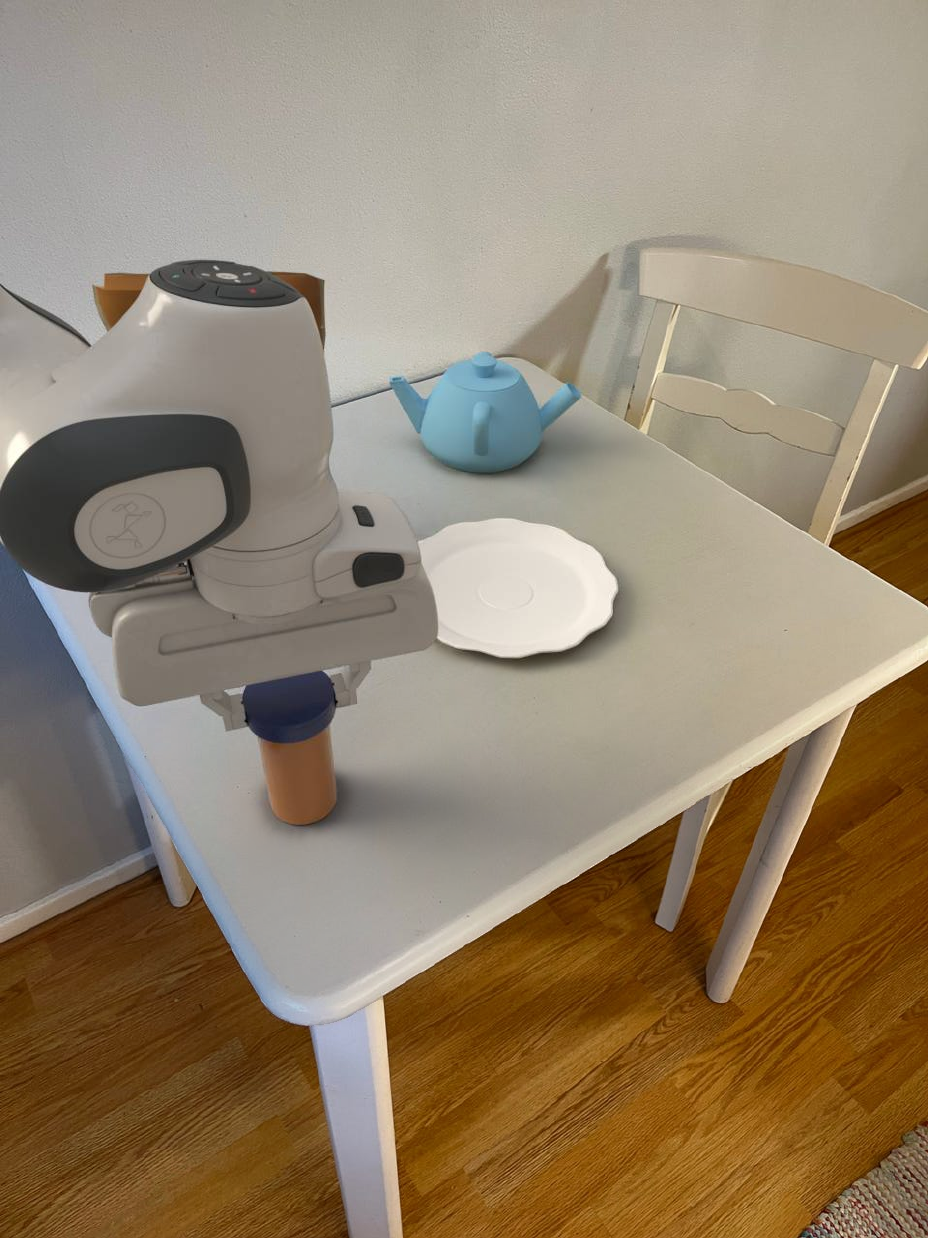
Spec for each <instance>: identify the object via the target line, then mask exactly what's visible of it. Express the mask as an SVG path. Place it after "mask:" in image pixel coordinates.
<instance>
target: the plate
mask: <svg viewBox="0 0 928 1238" xmlns="http://www.w3.org/2000/svg"><path fill="white" fill-rule="evenodd" d="M417 542H418V545H419V549H420V553H421V560H422V561H421V563H422V565H423V567H424V570H425V572H426V574H427V576H428V579H429V581H430V583H431V586H432V588H433V592H434V596H435V600H436V606H437V613H438V627H439V631H438V637H437V638H436V640H438V641H439V642H440V643H443V644H445V645H448V646H450V647H451V648H454V649H457V650H464V651H465V650H466V651H472V652H473V651H474V652H480V653H484V654H487V655H489V656H493V657H496V658H500V659H522V658H525V657H529V656H533V655H537V654H543V653H559V652H560V653H561V652H564V651H567V650H569V649H572V648H575V647H577V646H578V645H580V644H581V643H582V642H583V641H584V640H585V639H586V638H587V637H588V636H589V635H590V634H592V633H594V632H596V631H598V630H600V629H602V628H604V627H606V626H607V624H608V622H609V621H610V620H611V618H612V617H613V609H614V606H613V605H614V600H615V598H616V596H617V594H618V593H619V585H618V579H617V577H616V576H615V575H614V574H613V573H612V571H611V570H610V569H609V568H608V567H607V564H606V562H605V559H604V556H603V554H602V553H600V552H599V551H598V550H597V549H596V548H595V547H594V546H593V545H591V544H588V543H586V542H584V541H581V540H579V539H576V538H575V537H573V535H571V534H570V533H568V532H567V531H565V530H564V529H562V528H558V527H556V526H553V525H550V524H546V523H545V524H543V523H533V522H527V521H524V520H521V519H520V520H519V519H516V518H511V517H509V518H507V517H494V518H489V519H485V520H481V521H463V522H457V523H454V524H450V525H448V526H444V528H442V529H441V530H439V531H438V532H437V533H435V534H433V535H431V536H429V537H426V538H424V539H421V540H419V541H418V540H417Z"/></svg>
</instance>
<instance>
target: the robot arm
mask: <svg viewBox="0 0 928 1238" xmlns="http://www.w3.org/2000/svg"><path fill="white" fill-rule="evenodd" d="M149 274H150V275H149V276H148V278H147V280H146V282H145V285H144V287H143V289H142V291H141V293H140V295H139V297H138V298H137V300H136V301H135V302H134V304H133V305H132V306H131V307H130V309H129V310H128V311H127V312H126V313H125V314H124V315H123V316H122V317H121V319H120V320H119V321H118V322H117V323H116V324H115V325H114V326H113V327H112V328H111V329H110V330H109V331H108V332H107V331H106V333H105V334H104V335H102V336H101V337H100V338H98V340H96V342H94V343H93V344H91V342H89V341H88V340H87V338H86V337H84V336H83V335H82V334H81V332H79V331H78V330H77V329H75V328H74V327H73V326H72V325H70V324H69V323H68V322H66V321H64V320H63V319H62V318H60V317H59V316H57V315H55V314H54V313H52V312H51V311H48V310H47V309H45V308H43V307H41V306H39V305H37V304H35V303H33V302H31V301H29V300H27V299H25V298H23V297H22V296H20V295H18V294H16V293H14V292H13V291H11V290H10V289H8V288H6V287H5V286H4V285H3V284H1V283H0V543H1V544H2V546H3V547H4V548H5V550H6V552H7V553H8V555H9V556H10V558H12V560H13V561H14V562H15V563H16V564H17V565H18V567H19V568H21V569H22V570H23V571H24V572H25V573H27V575H29V576H31V577H33V578H34V579H36V580H37V581H39V582H42V583H43V584H46V585H48V586H51V587H53V588H57V589H60V590H64V591H69V592H74V593H75V592H76V593H89V595H88V600H87V601H88V602H87V603H88V607H89V611H90V613H91V616H92V620H93V622H94V625H95V626H96V628H97V629H98V630H99V631H100V632H101V633H102V634H103V635H105V636H107V637H109V638H111V644H112V645H111V647H112V660H113V668H114V674H115V678H116V685H117V687H118V688H117V689H118V693H119V696H120V697H121V699H122V700H125V701H126V702H128V703H130V704H132V705H134V706H135V707H147V706H152V705H156V704H161V703H167V702H173V701H177V700H181V699H187V698H191V697H192V698H193V697H196V696H197V697H198V696H199V699H200V703H201V705H204V706H205V707H206V708H208V709H209V710H210V711H212V712H213V713H215V714H217V715H218V716H219V717H222V720H223V725H224V730H225V732H226V733H228V732H231V731H236V730H241V729H245V728H249V727H248V725H247V720H246V714H245V710H244V705H243V704H242V701H243V699H242V695H243V693H236V694H231V695H229V694H228V692H226V690H232V689H238V688H242V687H246V686H247V685H252V684H257V683H262V682H267V681H272V680H277V679H282V678H287V677H292V676H297V675H302V674H307V673H312V672H317V671H326V670H327V671H328V670H332V669H337V668H342V667H343V668H342V670H341V671H340V672H339V673H336V674H335V673H334V674H331V675H329V677H330V679H331V681H332V683H333V685H334V686H333V688H334V693H335V703H336V709H339V708H345V707H351V706H355V705H358V695H357V689H358V688H359V687H360V686H361V684H363V681H364V680H365V678H366V677H367V676H368V674H369V672H370V671H371V670H372V663H371V662H372V661H377V660H382V659H387V658H391V657H397V656H401V655H407V654H413V653H417V652H423V651H426V650H428V649H429V647H431V646H432V644H433V643H434V642H435V641H436V640H437V637H438V631H439V627H438V613H437V606H436V600H435V596H434V592H433V588H432V586H431V583H430V581H429V579H428V576H427V574H426V572H425V570H424V567H423V565H422V563H421V561H422V560H421V553H420V549H419V545H418V539H417V536H416V534H415V531H414V529H413V526H412V525H411V523H410V521H409V519H408V517H407V516H406V514H405V512H404V510H403V509H402V507H401V506H400V505H399V503H398V502H397V501H396V500H395V499H394V498H393V497H392V496H389V495H385V494H380V493H371V492H362V491H356V490H348V489H344V488H343V489H342V488H338V487H337V484H336V481H335V479H334V477H333V475H332V472H331V468H330V455H331V451H332V447H333V443H334V420H333V419H334V418H333V410H332V409H333V408H332V399H331V389H330V384H329V383H330V382H329V376H328V369H327V362H326V357H325V351H324V352H323V347H322V342H321V339H320V335H319V331H318V327H317V324H316V321H315V318H314V315H313V312H312V310H311V307H310V305H309V303H308V301H307V300H306V298H305V297H304V296H303V295H301V294H300V293H299V291H298V290H296V289H295V288H294V287H292V286H291V285H289V284H288V283H286V282H285V281H283V280H281V279H280V278H278V277H276V276H274V275H272V274H270V273H268V272H266V270H263V269H262V268H259V267H257V266H254V265H246V264H242V263H236V262H234V261H229V260H218V259H190V260H189V259H188V260H187V259H186V260H179V261H174V262H171V263H170V264H165V265H162V266H160V267H157V268H155V269H154V270H153V271H151V272H150V273H149Z"/></svg>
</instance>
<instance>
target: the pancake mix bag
mask: <svg viewBox="0 0 928 1238" xmlns="http://www.w3.org/2000/svg"><path fill="white" fill-rule="evenodd" d="M265 271H266V270H265ZM266 272H268V273H270V274H272V275H274V276H276V277H278V278H280V279H281V280H283V281H285V282H286V283H288V284H289V285H291V286H292V287H294V288H295V289H296V290H298V291H299V293H300V294H301V295H303V296H304V297H305V298H306V300H307V301H308V303H309V305H310V307H311V310H312V312H313V315H314V318H315V321H316V324H317V327H318V331H319V335H320V339H321V342H322V347H323V352H324V353H325V346H326V335H327V334H326V313H325V311H326V310H325V309H326V308H325V283H326V280H325V279H322V278H320V277H317V276H314V275H313V274H310V273H306V272H293V271H271V270H267V271H266ZM150 274H151V273H134V272H133V273H131V272H107V273H104V276H103V281H104V282H103V285H100V284H91V287H92V292H93V300H94V301H93V302H94V303H95V308H96V311H97V313H98V317H99V318H100V320H101V322H102V324H103V326H104V328H105V330H106V333H107V332H108V331H109V330H110V329H111V328H112V327H113V326H114V325H115V324H116V323H117V322H118V321H119V320H120V319H121V317H122V316H123V315H124V314H125V313H126V312H127V311H128V310H129V309H130V307H131V306H132V305H133V304H134V302H135V301H136V300H137V298H138V297H139V295H140V293H141V291H142V289H143V287H144V285H145V282H146V280H147V278H148V276H149V275H150Z"/></svg>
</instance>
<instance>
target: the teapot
mask: <svg viewBox="0 0 928 1238" xmlns="http://www.w3.org/2000/svg"><path fill="white" fill-rule="evenodd" d="M389 385H390V387H391V389H392V391H393V392H394V394H395V396H396V398H397V399H398V401H399V403H400V405H401V406H402V408H403V410H404V412H405V414H406V415H407V417H408V419H409V421H410V422H411V425H412V426H413V428H414V430H415V432H416V433H417V434H419V435H420V439H421V442H422V443H423V445H424V447H425V448H426V449H427V450H428V451H429V452H430V454H431V455H432V456H433V457H435V458H436V459H437V460H438V461H439V462H441V463H442V464H443V465H445V466H448V467H450V468H453V469H456V470H457V471H463V472H469V473H477V474H478V473H479V474H487V473H497V472H503V471H507V470H511V469H513V468H515V467H517V466H519V465H520V464H522V463H523V462H525V461H527V459H528V458H530V457H531V456H532V455H533V454H534V453H535V452H536V451H537V450H538V448H539V446H540V444H541V443H542V438H543V432H545V430H546V429H548V428H550V426H551V425H552V424H553V423H554V422H556V421H557V420H558V419H559V418H560V417H561V416H562V415H563V414H565V412H567V411H568V410H569V409H571V407H573V406H574V405H575V404H576V403H577V402H578V401H579V400H580V399H582V393H581V392H580V390H579V389H578V387H577V386H576V385H575V384H573V383H572V382H570V381H566V383H565V384H564V385H563V386H562V387H561V388H560V389H559V390H558V391H557V392H556V393H555V394H554V395H553V396H551V398H549V399H548V400H547V401H546V402H545V403H544V404H543V405H542V406H541V407H539V405H538V402H537V401H538V400H537V399H536V397H535V394H534V393H533V392H532V390H531V387H530V386H529V384H528V382H527V380H526V379H525V377H524V376H523V374H522V373H521V372H520V371H519V369H517V368H516V367H515V366H514V365H512V364H510V363H507V362H504V361H502V360H498V359H497V358H496V357H494V356H493V355H492V354H491V353H490V352H489V351H478V352H477V353H476V354H475V356H472V357H471V358H469V359H464V360H461V361H458V362H454V364H452V365H451V366H449V367H448V368H447V369H446V370H445V371H444V373H443V374H442V375H441V377H439V379H438V381H437V382H436V383H435V386H433V387H432V390H431V392H430V393H429V395H428V397H427V398H424V397H422V396H420V395H419V393H418V392H417V391H416V390H415V389H414V387H413V386H412V385H411V384H410V383H409V382H408V381H407V379H406V378H405V376H404V375H398V376H397V375H396V376H390V377H389Z"/></svg>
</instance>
